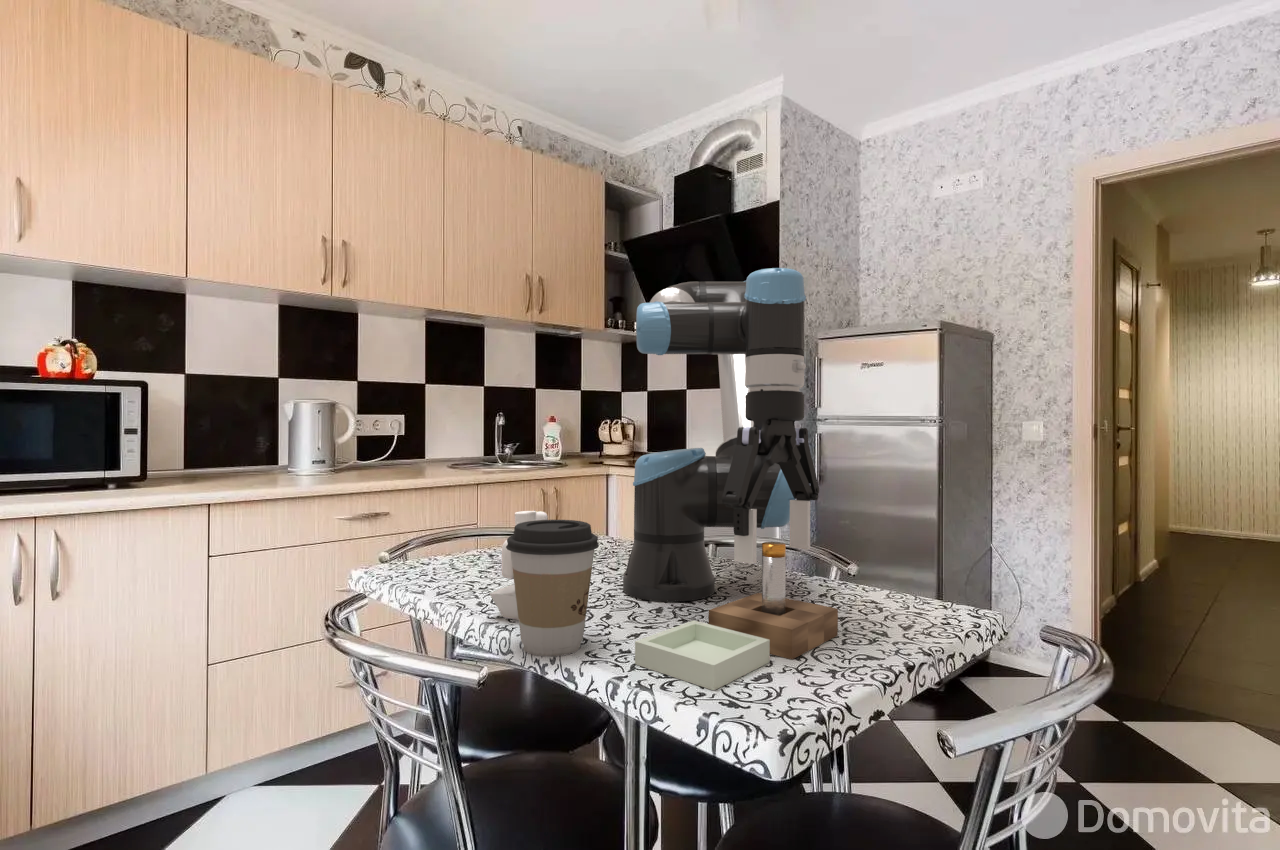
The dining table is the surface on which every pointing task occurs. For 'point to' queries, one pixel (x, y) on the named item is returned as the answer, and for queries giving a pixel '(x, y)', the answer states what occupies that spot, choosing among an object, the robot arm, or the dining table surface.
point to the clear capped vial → (773, 577)
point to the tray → (702, 653)
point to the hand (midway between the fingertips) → (774, 555)
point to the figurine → (507, 595)
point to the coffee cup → (552, 583)
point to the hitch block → (779, 624)
